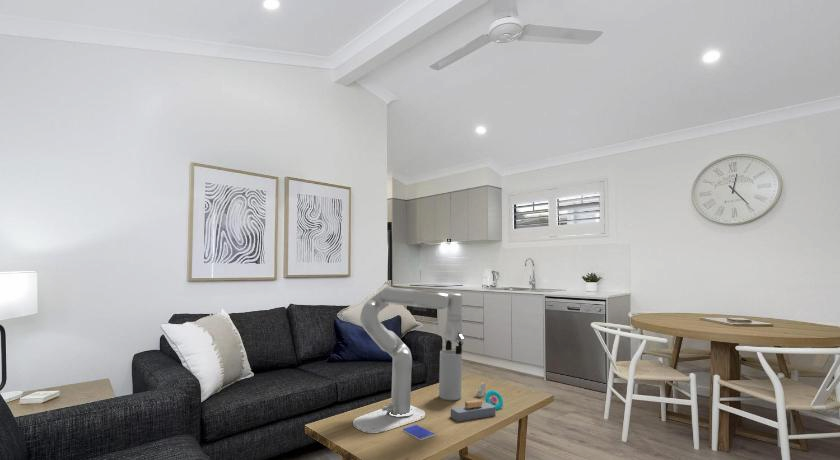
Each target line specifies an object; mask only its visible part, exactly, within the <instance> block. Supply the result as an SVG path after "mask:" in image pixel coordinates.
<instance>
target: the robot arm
mask: <svg viewBox="0 0 840 460" xmlns="http://www.w3.org/2000/svg"><path fill="white" fill-rule="evenodd" d="M390 305H396V306H407V307H414V308H424V309H425V308H426V309H436V310H443V309H447V310H446V321H445V328H444V339H445V350H453V349H452V346H453V345H452V344H453V343H454V342H455V350H456V354H462V355H463V351H462V350H463V349H462V348H463V344H464V341H465V337H464V336H463V324H462V321H463V320H462V319H463V318H462V315H463V296H462V294H460V293H456V292H455V293H444V292H435V293H433V292H425V291H421V290H418V289H413V288H400V287H393V286H385V287H384V288H383V289H381V290H380V291H379V292H378V293H376V294H375V295H374V296H372V297H371V298H370V299H368V300H367V301H366V302H364V305H363V307H362V308H361V313H360V324H361V326H362V328H363V330H364V331H365V332H366V333H367V335H368V336H369V337H370V338H371V339H372V340H373V342H374V343H376V345H377V346H378V347H379V348H380V350H382V351H383V352H386V353H387V354H389V356H390V357H391V358H392V371H391V374H392V375H391V400H390V401H391V402H389V404H388V405H387V406H385V405H384V406H381V411H382V412H384V411H386V412H387V413H388V412H389V413H390V412H391V414H393V415H397V414H400V415H402V414H406V413H409V412H410V408H411V398H412V397H411V392H412V391H411V390H412V388H411V387H412V366H413V357H412V352H411V349H410V348H409V347H408V346H407V344H405V343H404V342H403V341H402V340H401V338H400V337H399V336H398V335H397V334H396V333H395V332H394V331H392V330H391V329H390V330H389V329H387V328H386V327H385V325H384V324H383V323H382V322H381V321H380V320H379V318H378V315H379V314H380V312H382V311H383V310H384V309H385V308H387V307H388V306H390ZM452 342H453V343H452ZM411 410H413V409H412V408H411Z"/></svg>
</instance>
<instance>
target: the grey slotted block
mask: <svg viewBox="0 0 840 460" xmlns="http://www.w3.org/2000/svg"><path fill="white" fill-rule="evenodd" d="M496 411H497V410H496V407H495V406H493V405H491V404H489V403H486V402H484V403H483V402H482V406H481V407H480V408H478V409H477V408H472V410H468V409H466V407H465V405H462V406H456V407H451V408H450V417H451V418H452V419H454V420H456V421H457V422H458V423H459V422H463V421H470V420H474V419H475V420H476V419H480V418H481V419H482V418H486V417H493V416H496V415H497V414H496Z"/></svg>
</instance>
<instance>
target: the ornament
mask: <svg viewBox="0 0 840 460" xmlns="http://www.w3.org/2000/svg"><path fill="white" fill-rule="evenodd" d="M484 400H485V403H489V404H491V405H493V406H495V407H496V411H499V410H500V409H501V408H502V407H503V404H504V399H503V397H502V395H501V394H500V392H498V391H496V390H488V391H487V392H485V395H484Z"/></svg>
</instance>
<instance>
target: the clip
mask: <svg viewBox="0 0 840 460" xmlns="http://www.w3.org/2000/svg"><path fill="white" fill-rule="evenodd" d="M482 403H483V400H481V399H473V400H471V399H470V400H467V401H464V406H465V407H466V409H468V410H472V408H477V409H478V408H480V407H481V406H482Z"/></svg>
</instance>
